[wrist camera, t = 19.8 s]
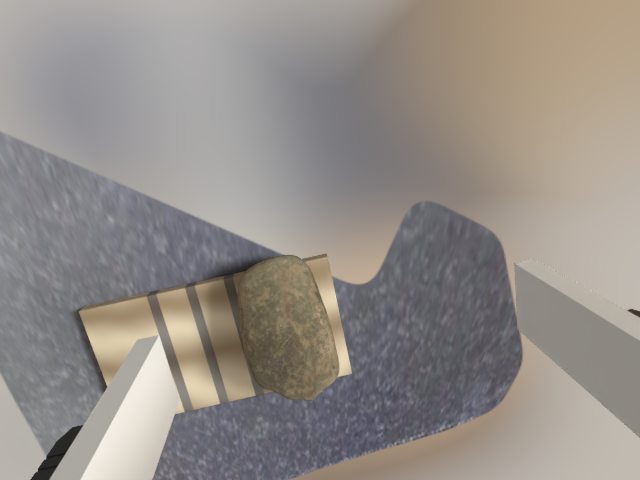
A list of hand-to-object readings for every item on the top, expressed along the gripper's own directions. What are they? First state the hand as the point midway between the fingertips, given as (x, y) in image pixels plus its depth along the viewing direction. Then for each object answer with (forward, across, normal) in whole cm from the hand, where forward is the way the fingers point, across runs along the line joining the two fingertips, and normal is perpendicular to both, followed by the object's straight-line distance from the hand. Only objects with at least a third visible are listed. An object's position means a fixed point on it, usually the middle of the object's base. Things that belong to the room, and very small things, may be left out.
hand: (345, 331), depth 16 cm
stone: (+29, -4, -12) cm, 31 cm away
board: (+30, -12, -14) cm, 35 cm away
